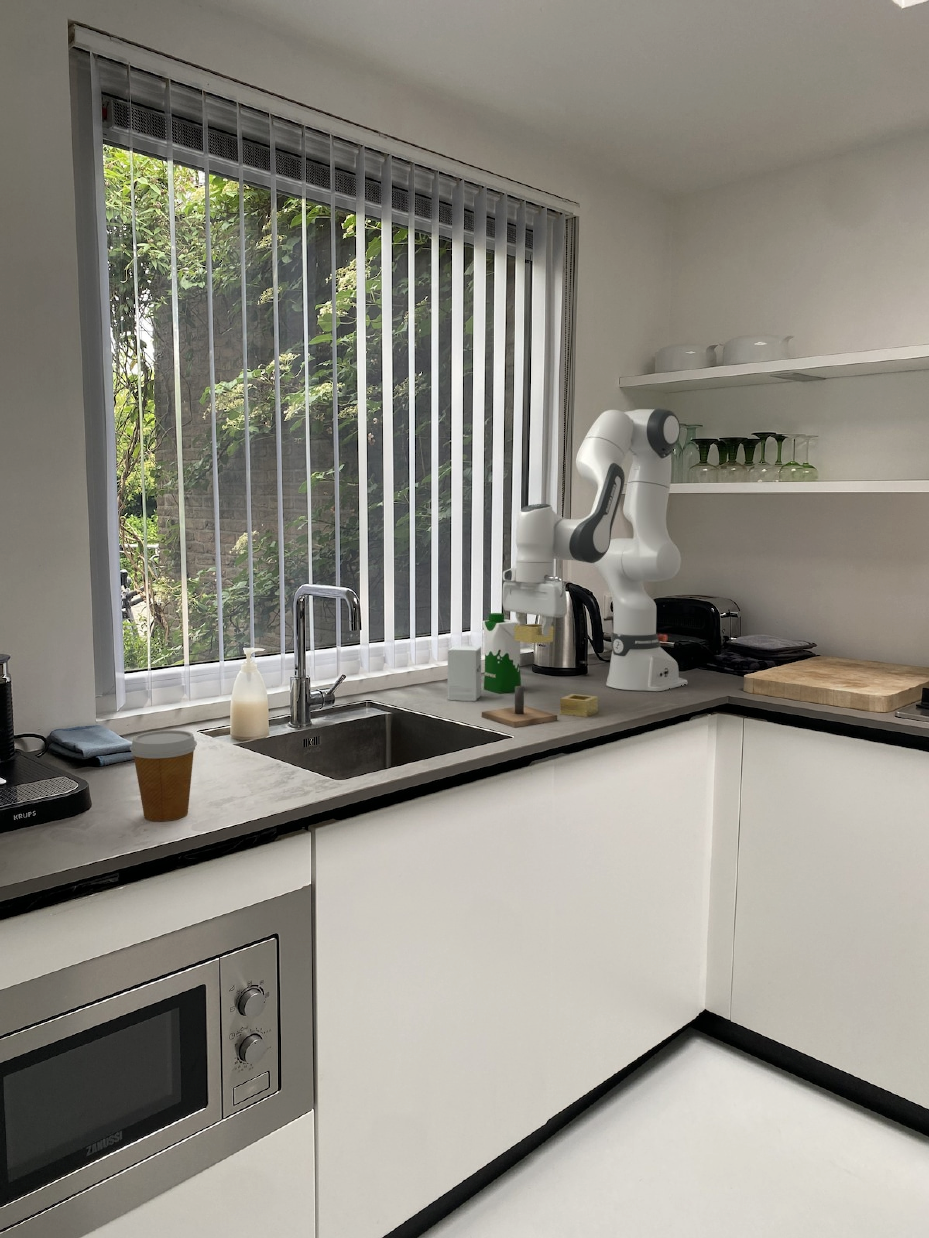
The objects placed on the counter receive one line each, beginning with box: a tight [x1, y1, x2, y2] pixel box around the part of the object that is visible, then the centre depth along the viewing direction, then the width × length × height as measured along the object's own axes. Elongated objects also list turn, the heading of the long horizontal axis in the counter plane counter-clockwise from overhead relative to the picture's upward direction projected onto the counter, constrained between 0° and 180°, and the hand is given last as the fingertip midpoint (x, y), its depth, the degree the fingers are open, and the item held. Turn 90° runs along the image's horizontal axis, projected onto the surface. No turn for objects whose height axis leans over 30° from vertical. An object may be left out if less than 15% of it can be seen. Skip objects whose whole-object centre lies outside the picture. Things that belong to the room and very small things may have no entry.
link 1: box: [514, 623, 554, 645], centre depth 212 cm, size 6×6×4 cm
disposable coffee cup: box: [129, 729, 198, 822], centre depth 136 cm, size 10×10×12 cm
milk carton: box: [481, 612, 522, 694], centre depth 234 cm, size 9×9×20 cm
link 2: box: [560, 693, 599, 718], centre depth 207 cm, size 6×6×4 cm
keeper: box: [481, 685, 558, 728], centre depth 201 cm, size 12×12×7 cm
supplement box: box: [446, 645, 482, 702], centre depth 224 cm, size 7×7×13 cm
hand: (533, 633), depth 212 cm, fingers closed on link 1, 6 cm apart
